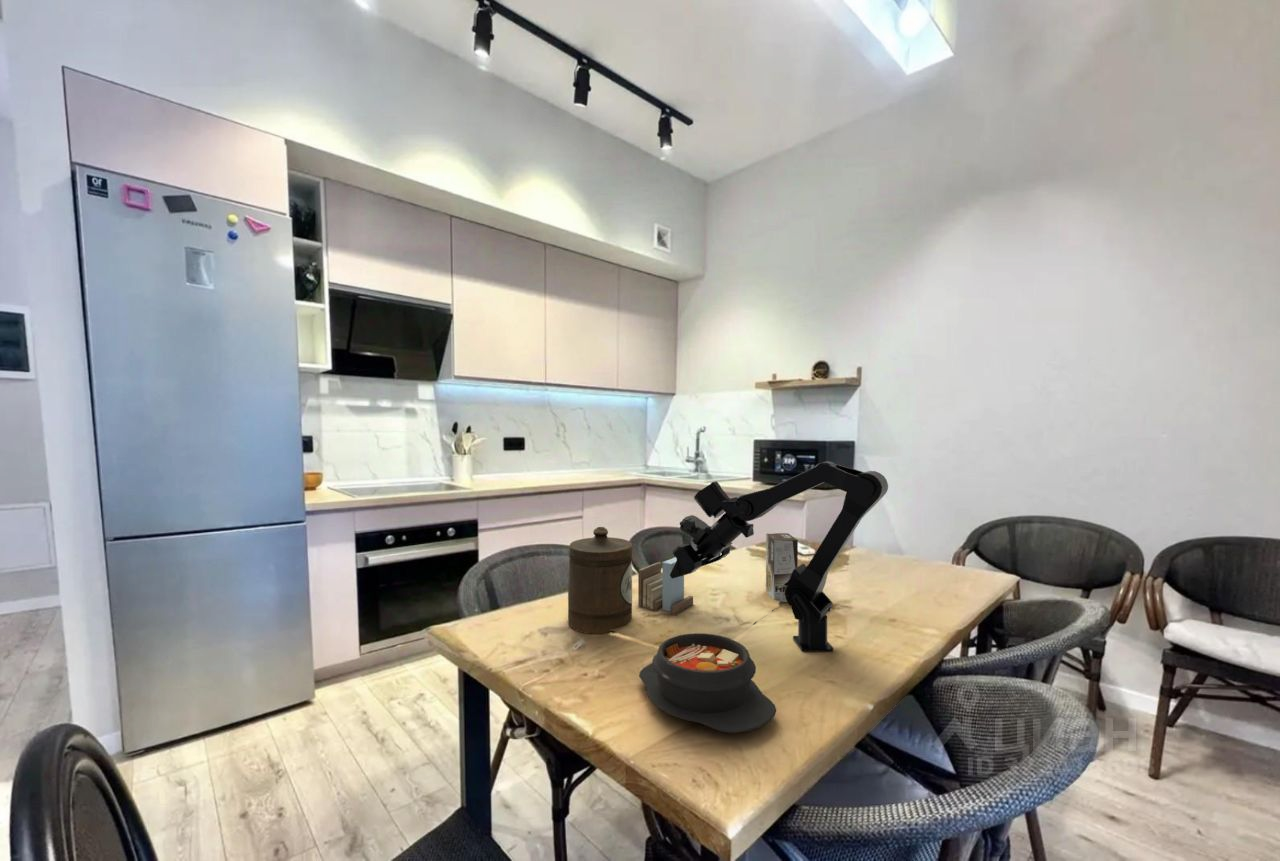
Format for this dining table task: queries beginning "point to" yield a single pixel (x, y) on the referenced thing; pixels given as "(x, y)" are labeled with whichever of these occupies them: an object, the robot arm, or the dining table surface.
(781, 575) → the coffee box
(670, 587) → the grey-blue panel
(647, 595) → the walnut rack
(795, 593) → the robot arm
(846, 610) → the dining table surface
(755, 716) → the casserole
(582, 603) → the wooden container
